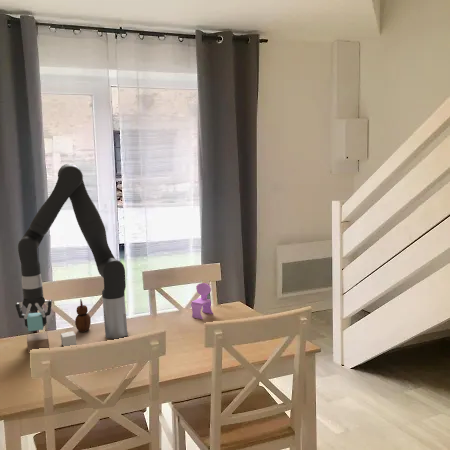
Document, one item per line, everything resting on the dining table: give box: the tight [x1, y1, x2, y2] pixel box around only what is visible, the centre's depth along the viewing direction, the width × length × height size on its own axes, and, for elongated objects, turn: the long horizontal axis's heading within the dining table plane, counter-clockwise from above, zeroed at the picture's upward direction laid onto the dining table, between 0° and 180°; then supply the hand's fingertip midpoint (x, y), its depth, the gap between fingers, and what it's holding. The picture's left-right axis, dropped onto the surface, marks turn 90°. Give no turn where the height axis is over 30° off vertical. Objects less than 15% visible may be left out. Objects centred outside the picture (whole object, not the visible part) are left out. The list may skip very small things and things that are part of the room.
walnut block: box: [26, 331, 50, 354], centre depth 211 cm, size 8×8×5 cm
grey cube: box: [60, 330, 78, 347], centre depth 213 cm, size 5×5×5 cm
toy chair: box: [190, 282, 214, 320], centre depth 242 cm, size 8×9×15 cm
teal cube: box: [27, 311, 45, 332], centre depth 210 cm, size 6×6×6 cm
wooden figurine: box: [74, 298, 92, 333], centre depth 228 cm, size 7×6×15 cm
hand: (36, 326), depth 210 cm, fingers closed on teal cube, 5 cm apart
